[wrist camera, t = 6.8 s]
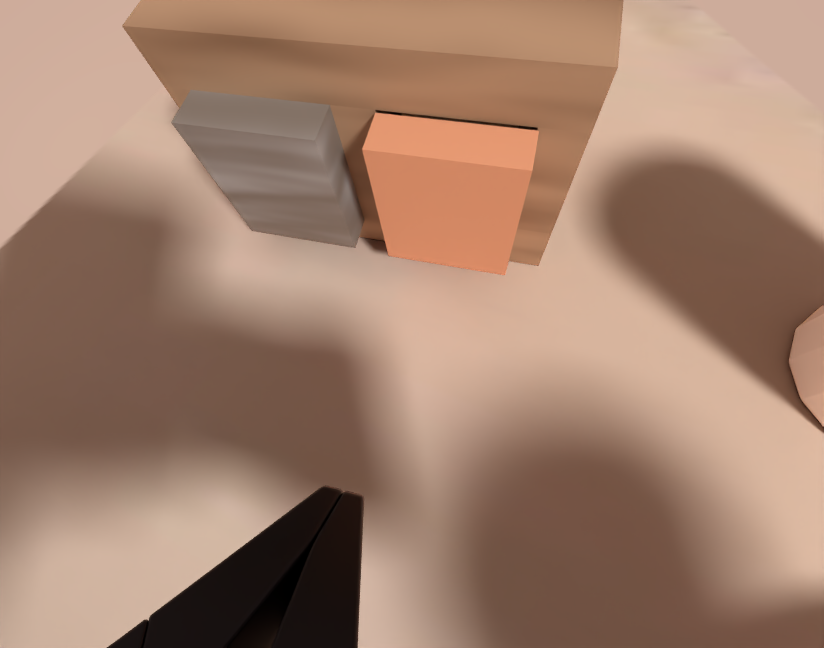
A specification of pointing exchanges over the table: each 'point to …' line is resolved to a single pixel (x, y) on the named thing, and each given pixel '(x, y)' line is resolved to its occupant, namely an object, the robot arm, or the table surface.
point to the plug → (449, 187)
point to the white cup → (810, 362)
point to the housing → (373, 95)
